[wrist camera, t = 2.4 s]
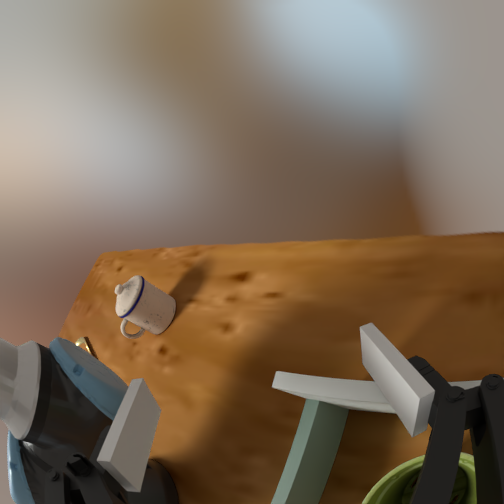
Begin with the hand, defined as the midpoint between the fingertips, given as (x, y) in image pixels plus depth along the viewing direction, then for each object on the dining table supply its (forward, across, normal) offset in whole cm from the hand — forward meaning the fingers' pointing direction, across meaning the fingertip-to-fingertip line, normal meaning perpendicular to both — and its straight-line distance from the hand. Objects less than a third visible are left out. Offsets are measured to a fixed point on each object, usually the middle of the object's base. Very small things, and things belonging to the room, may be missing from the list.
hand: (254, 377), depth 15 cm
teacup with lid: (+39, +20, +12) cm, 45 cm away
